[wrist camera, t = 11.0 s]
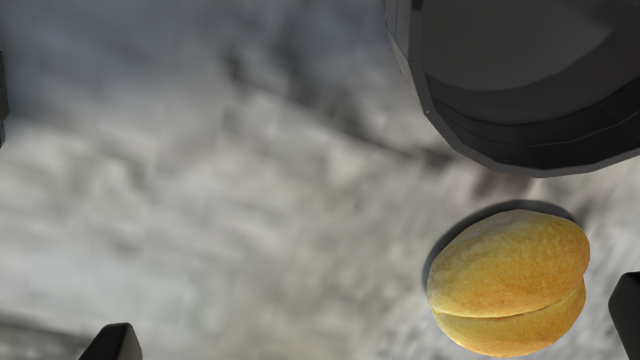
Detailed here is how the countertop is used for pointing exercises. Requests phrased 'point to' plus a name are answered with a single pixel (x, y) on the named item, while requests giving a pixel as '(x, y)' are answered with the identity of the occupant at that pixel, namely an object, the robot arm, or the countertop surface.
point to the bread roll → (510, 283)
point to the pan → (525, 79)
